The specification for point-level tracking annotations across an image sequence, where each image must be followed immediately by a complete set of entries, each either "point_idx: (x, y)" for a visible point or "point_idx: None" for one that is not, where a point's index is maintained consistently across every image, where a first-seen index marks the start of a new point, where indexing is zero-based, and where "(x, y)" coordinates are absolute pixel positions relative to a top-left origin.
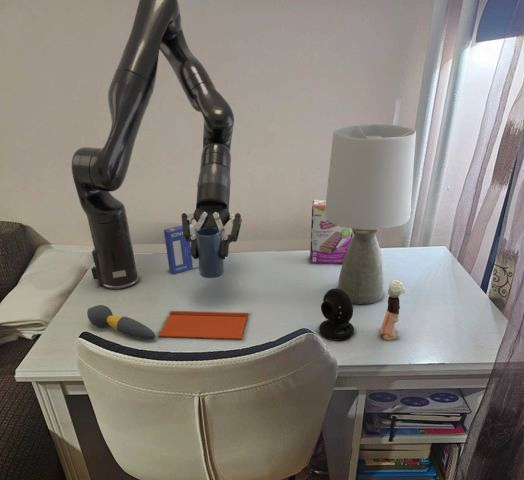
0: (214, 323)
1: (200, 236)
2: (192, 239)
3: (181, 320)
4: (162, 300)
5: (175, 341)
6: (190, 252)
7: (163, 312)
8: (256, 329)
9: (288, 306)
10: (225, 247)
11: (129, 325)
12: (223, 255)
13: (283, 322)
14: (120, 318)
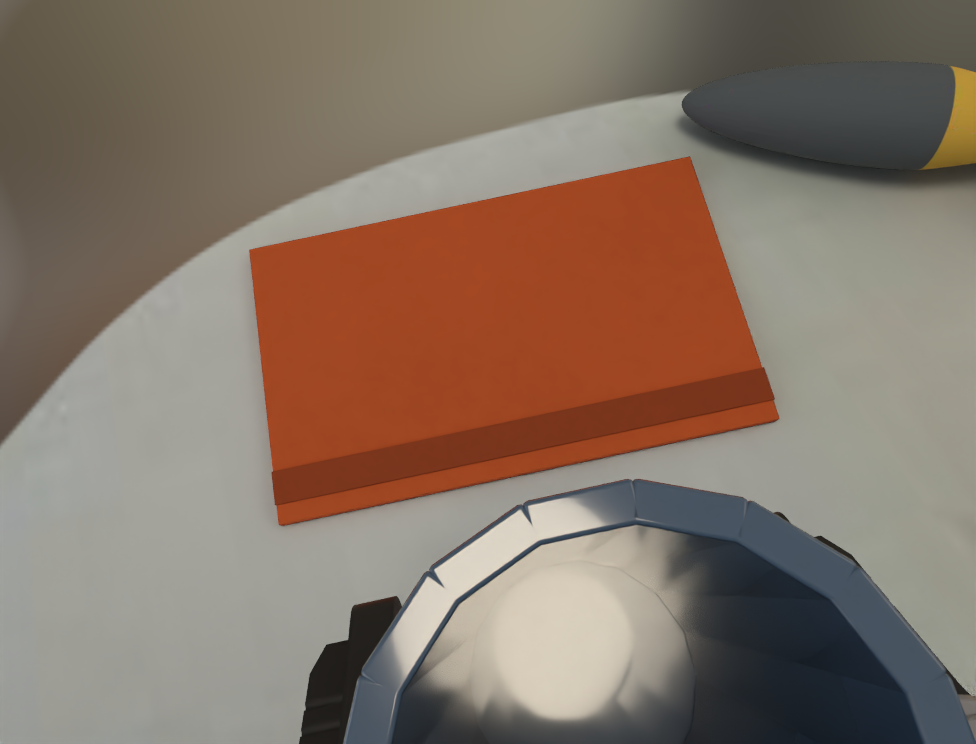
0: (443, 347)
1: (705, 494)
2: (960, 697)
3: (651, 325)
4: (948, 564)
5: (582, 154)
6: (843, 551)
7: (830, 407)
8: (196, 372)
9: (34, 712)
10: (333, 741)
11: (856, 63)
12: (355, 606)
13: (52, 489)
14: (952, 76)
